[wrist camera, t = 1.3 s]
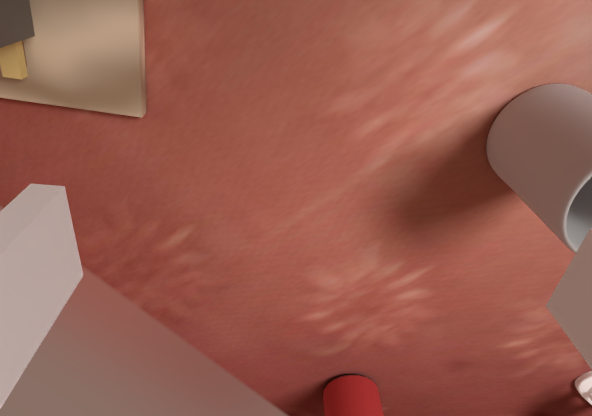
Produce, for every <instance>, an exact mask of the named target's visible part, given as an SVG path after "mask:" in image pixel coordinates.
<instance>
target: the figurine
mask: <svg viewBox="0 0 592 416" xmlns="http://www.w3.org/2000/svg"><path fill="white" fill-rule="evenodd" d="M575 387H576V389H577V390H578V392H579V393H580V394H581V396H582V397H583V398H584V399H585V400H586V401H588V402H589V404H591V405H592V371H590V372H587V373H585V374H583V375H581V376H579V377H578V378H577V379H576V380H575Z"/></svg>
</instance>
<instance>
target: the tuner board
mask: <svg viewBox="0 0 592 416" xmlns="http://www.w3.org/2000/svg"><path fill="white" fill-rule="evenodd" d="M29 1H30V7H31V14H32V20H33V27H34V33H35V36H34V37H31V38H28V39H25V40H22V44H23V50H24V56H25V62H26V68H27V74H28V77H26V78H24V79H22V80H21V79H15V78H8V77H3V76H2V71H1V66H0V98H7V99H14V100H21V101H28V102H35V103H42V104H49V105H56V106H63V107H71V108H78V109H85V110H92V111H99V112H106V113H113V114H120V115H127V116H134V117H141V118H142V117H143V116H144V115H145V113H146V112H147V111H146V74H145V36H144V0H29Z"/></svg>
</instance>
